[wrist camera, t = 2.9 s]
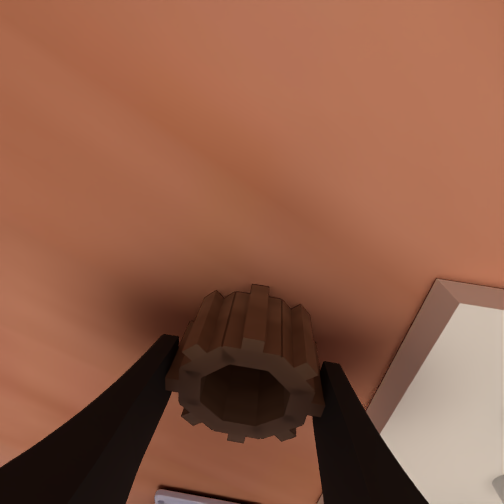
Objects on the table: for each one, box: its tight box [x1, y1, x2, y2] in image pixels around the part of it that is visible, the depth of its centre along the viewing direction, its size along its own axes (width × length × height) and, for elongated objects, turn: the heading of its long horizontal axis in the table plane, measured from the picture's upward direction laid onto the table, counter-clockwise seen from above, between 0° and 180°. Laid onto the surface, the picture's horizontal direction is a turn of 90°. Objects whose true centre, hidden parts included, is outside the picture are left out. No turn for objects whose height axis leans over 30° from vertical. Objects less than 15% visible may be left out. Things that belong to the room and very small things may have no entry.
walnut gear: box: [165, 284, 325, 443], centre depth 11 cm, size 6×6×3 cm
